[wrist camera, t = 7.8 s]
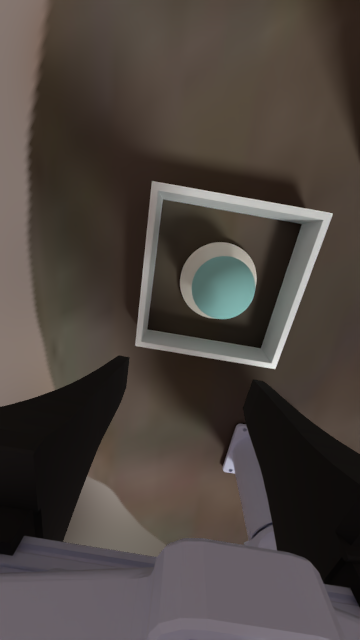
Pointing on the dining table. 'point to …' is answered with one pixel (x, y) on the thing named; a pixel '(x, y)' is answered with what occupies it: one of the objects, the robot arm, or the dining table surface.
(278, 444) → the robot arm
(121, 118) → the dining table surface
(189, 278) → the saucer
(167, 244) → the dining table surface
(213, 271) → the ball
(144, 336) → the white square frame
